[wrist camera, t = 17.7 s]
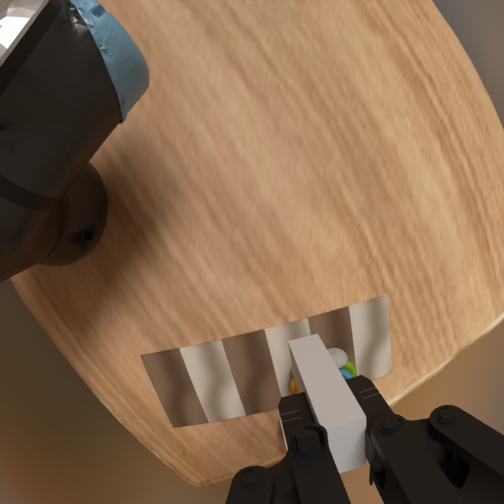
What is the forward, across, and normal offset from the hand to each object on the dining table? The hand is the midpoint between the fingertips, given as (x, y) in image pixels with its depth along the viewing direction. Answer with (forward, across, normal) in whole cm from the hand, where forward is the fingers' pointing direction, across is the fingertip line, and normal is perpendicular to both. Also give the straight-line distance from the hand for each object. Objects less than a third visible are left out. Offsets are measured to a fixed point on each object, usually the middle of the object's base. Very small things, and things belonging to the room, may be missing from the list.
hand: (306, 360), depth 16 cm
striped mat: (+26, -1, -17) cm, 32 cm away
